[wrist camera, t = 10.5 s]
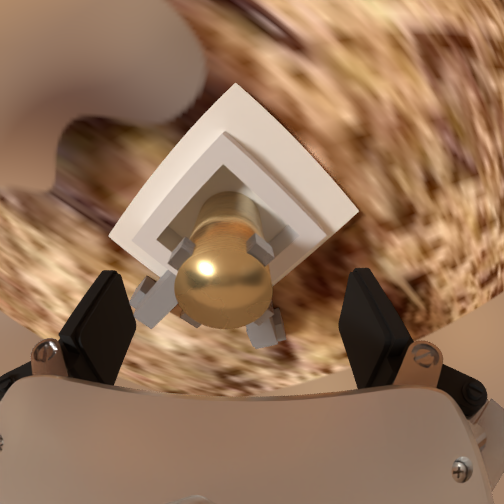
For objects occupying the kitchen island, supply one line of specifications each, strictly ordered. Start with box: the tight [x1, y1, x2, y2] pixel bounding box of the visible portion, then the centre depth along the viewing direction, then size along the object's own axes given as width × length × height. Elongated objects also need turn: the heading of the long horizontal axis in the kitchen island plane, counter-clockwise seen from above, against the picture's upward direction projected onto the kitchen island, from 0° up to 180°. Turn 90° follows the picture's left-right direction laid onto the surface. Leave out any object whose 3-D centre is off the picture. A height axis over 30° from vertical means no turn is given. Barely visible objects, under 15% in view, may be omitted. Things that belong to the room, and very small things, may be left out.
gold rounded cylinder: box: [167, 191, 274, 329], centre depth 15 cm, size 5×5×8 cm
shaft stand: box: [109, 83, 359, 349], centre depth 20 cm, size 17×18×4 cm
